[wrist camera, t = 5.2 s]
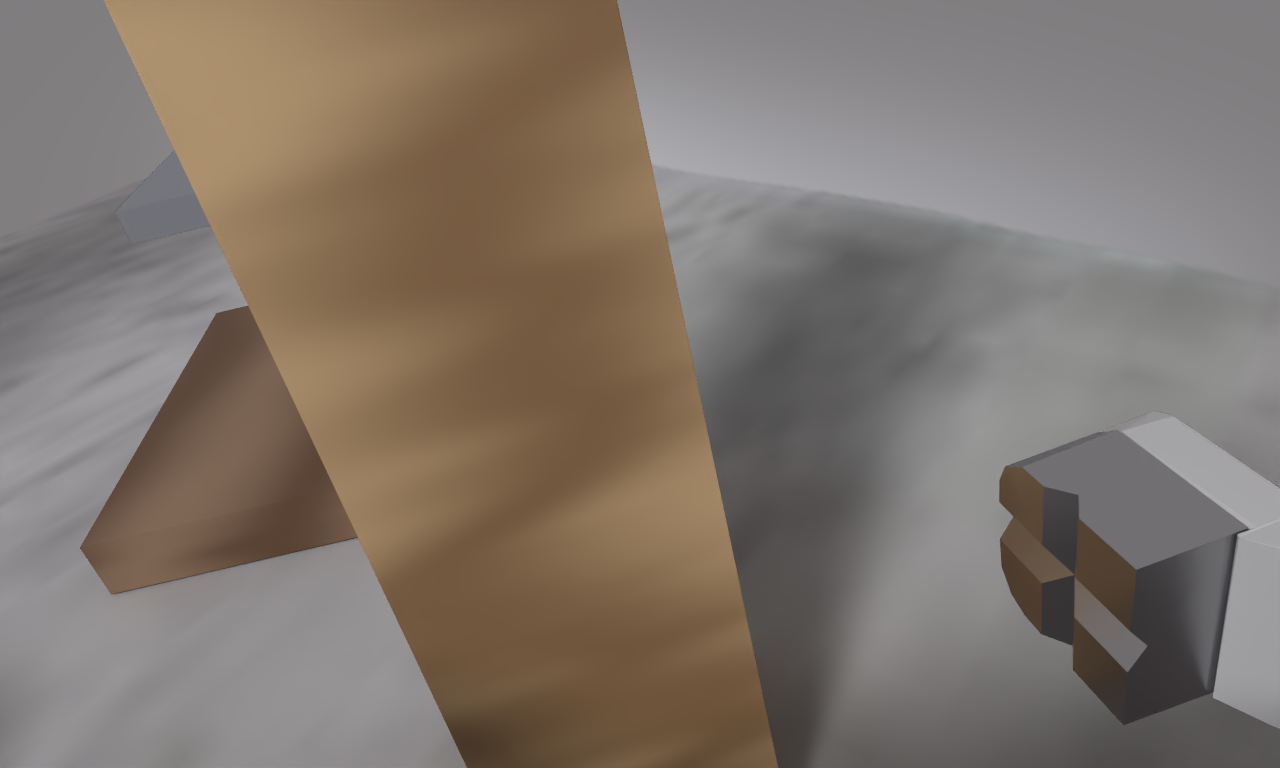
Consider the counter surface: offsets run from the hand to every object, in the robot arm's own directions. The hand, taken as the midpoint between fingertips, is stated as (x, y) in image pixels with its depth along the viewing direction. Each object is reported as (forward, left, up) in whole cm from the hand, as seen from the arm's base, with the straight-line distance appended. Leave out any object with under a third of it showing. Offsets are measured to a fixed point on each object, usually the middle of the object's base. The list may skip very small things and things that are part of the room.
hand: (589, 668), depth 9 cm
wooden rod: (-1, +5, -7) cm, 9 cm away
